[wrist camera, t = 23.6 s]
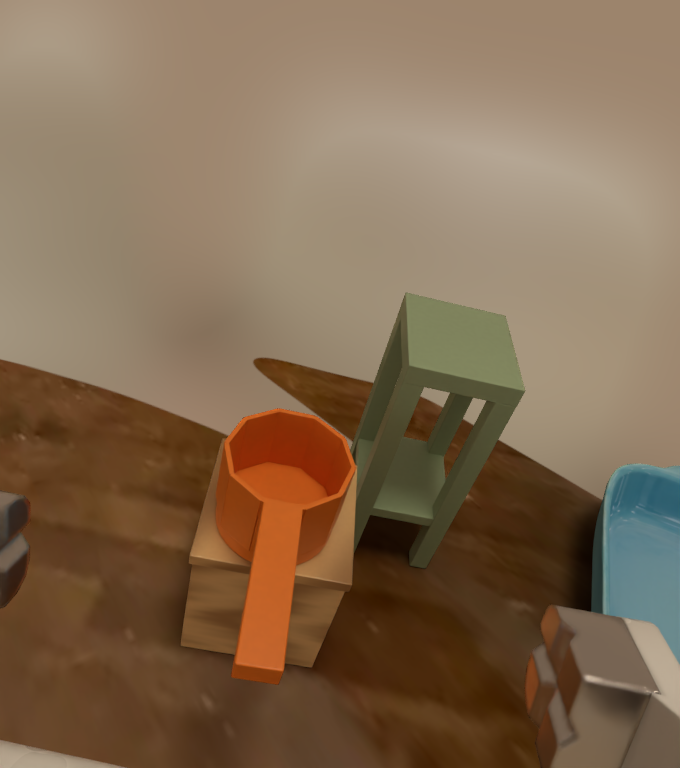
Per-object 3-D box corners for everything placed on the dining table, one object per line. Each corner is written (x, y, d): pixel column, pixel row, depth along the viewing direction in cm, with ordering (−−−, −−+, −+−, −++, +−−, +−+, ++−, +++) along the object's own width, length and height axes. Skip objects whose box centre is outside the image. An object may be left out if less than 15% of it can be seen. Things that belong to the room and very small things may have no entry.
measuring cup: (224, 462, 44) (235, 399, 40) (337, 484, 45) (358, 424, 41) (160, 711, 31) (168, 653, 27) (319, 734, 32) (347, 682, 28)
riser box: (176, 648, 45) (189, 555, 38) (206, 533, 53) (222, 437, 46) (314, 671, 46) (352, 585, 39) (324, 554, 54) (357, 465, 47)
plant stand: (336, 552, 54) (409, 365, 41) (341, 473, 61) (405, 292, 48) (425, 568, 55) (525, 391, 42) (421, 489, 62) (505, 315, 49)
